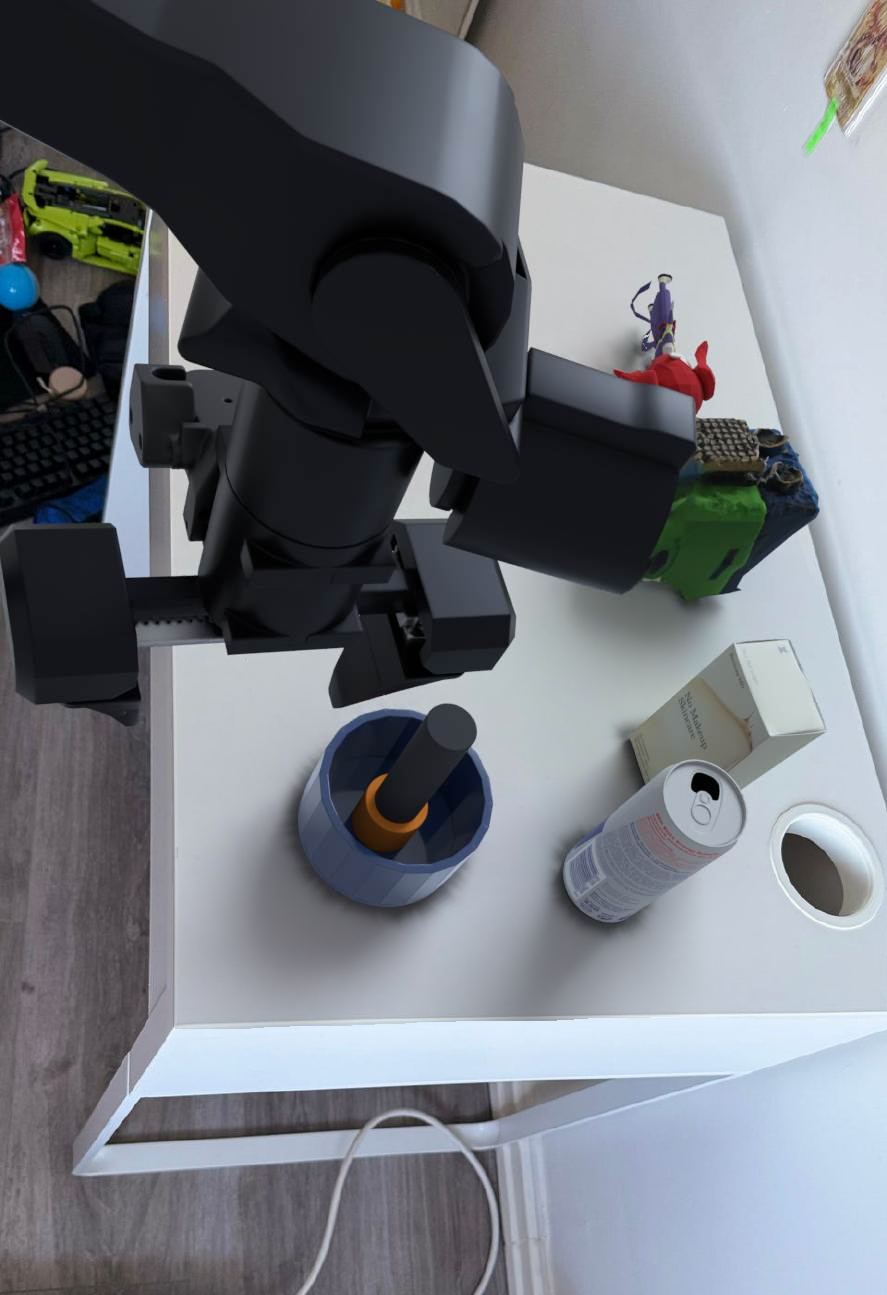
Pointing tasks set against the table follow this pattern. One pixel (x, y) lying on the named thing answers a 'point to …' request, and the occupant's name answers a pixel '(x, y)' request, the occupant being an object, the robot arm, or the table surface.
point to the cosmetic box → (735, 714)
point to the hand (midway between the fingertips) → (234, 707)
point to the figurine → (671, 352)
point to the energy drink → (656, 840)
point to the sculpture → (731, 508)
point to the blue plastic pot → (433, 847)
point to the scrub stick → (413, 779)
